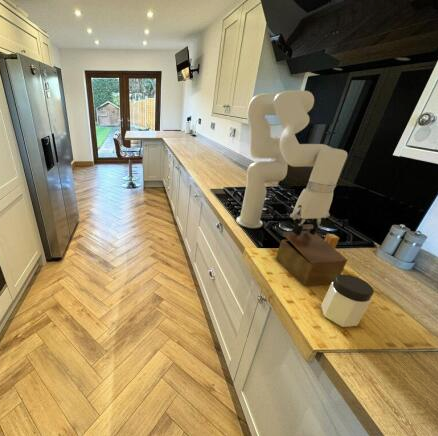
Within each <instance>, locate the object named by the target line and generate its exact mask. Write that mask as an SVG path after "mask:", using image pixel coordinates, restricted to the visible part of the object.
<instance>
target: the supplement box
mask: <svg viewBox="0 0 438 436" xmlns="http://www.w3.org/2000/svg"><path fill="white" fill-rule="evenodd" d="M323 239H324V240H325V241H326V242H327V243H328V244H329V245H331V246H332V247H333V248H334V249H335V250H336V247H337V245H338V242H339V240H340V237H339V236H337V235H335V234H334V233H327V234H325V237H324V238H323Z"/></svg>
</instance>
